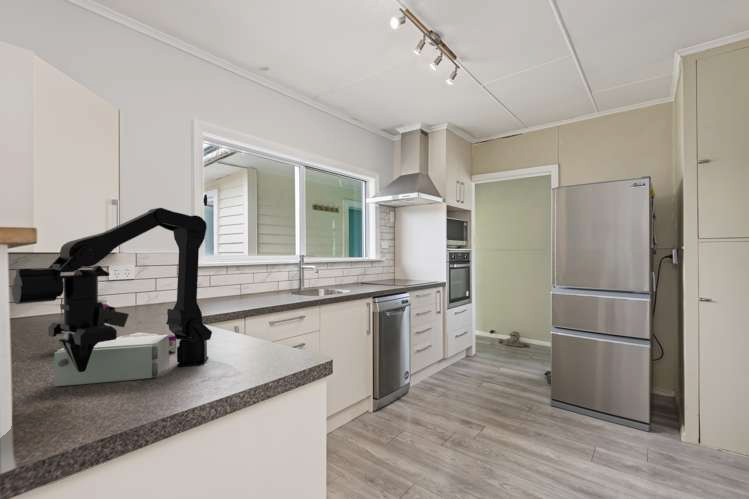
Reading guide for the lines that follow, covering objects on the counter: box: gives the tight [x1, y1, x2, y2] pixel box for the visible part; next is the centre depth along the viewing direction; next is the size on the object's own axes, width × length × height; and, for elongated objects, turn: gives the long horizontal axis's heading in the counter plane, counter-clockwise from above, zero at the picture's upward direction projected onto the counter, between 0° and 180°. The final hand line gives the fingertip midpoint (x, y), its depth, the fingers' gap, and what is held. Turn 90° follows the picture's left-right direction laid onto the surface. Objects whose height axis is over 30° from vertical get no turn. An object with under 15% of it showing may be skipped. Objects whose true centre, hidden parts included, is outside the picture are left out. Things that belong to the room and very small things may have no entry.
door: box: [53, 345, 159, 387], centre depth 83 cm, size 21×2×8 cm, turn 104°
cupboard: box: [57, 334, 170, 378], centre depth 90 cm, size 20×10×8 cm, turn 104°
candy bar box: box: [117, 331, 177, 354], centre depth 108 cm, size 11×5×16 cm
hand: (81, 371), depth 77 cm, fingers closed
